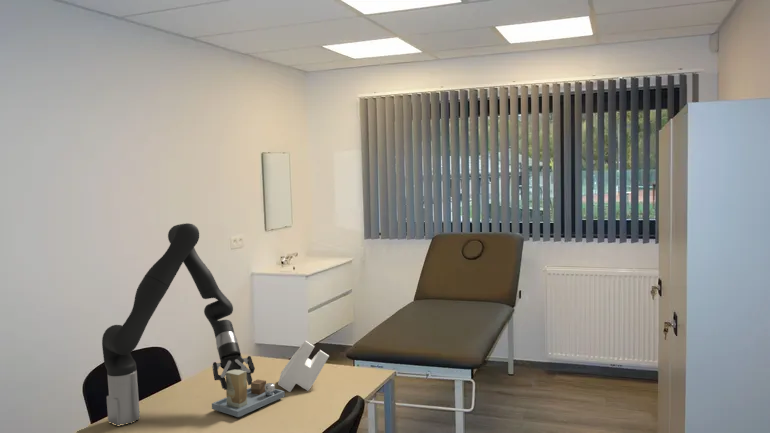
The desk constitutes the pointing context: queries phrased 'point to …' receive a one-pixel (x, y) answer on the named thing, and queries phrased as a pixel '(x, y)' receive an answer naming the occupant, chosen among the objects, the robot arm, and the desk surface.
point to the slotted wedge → (302, 368)
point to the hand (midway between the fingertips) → (238, 386)
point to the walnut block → (258, 387)
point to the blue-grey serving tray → (252, 403)
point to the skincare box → (236, 388)
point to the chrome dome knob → (269, 389)
